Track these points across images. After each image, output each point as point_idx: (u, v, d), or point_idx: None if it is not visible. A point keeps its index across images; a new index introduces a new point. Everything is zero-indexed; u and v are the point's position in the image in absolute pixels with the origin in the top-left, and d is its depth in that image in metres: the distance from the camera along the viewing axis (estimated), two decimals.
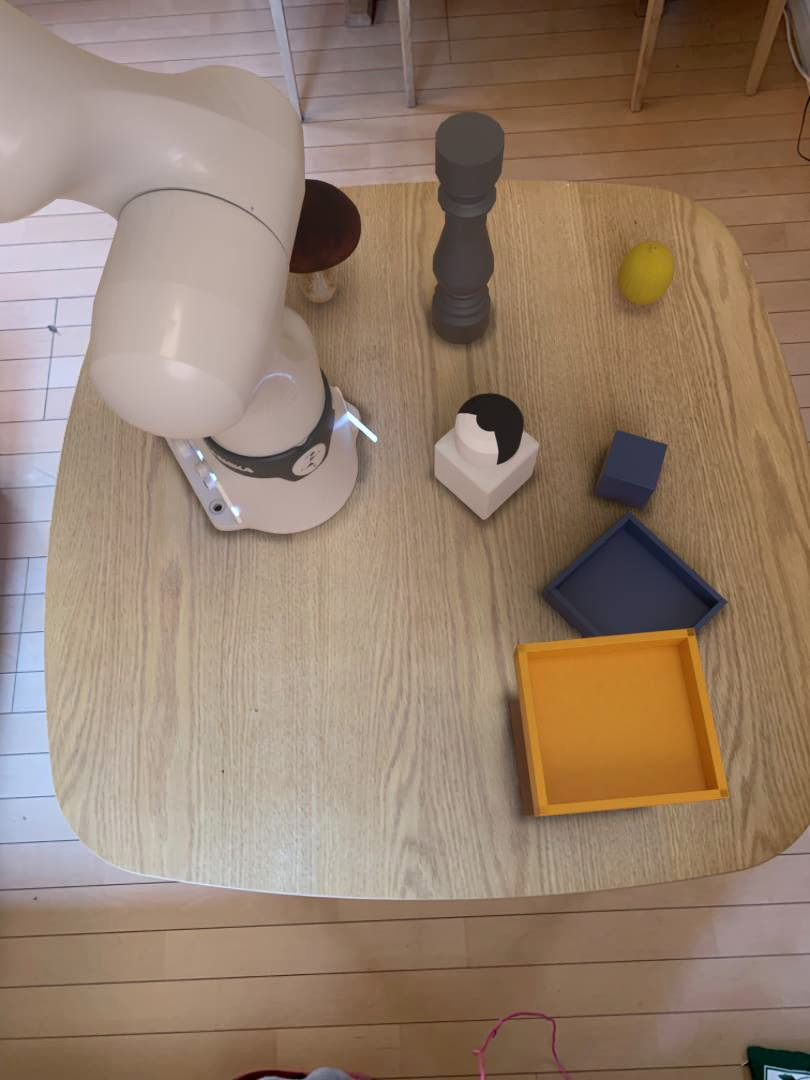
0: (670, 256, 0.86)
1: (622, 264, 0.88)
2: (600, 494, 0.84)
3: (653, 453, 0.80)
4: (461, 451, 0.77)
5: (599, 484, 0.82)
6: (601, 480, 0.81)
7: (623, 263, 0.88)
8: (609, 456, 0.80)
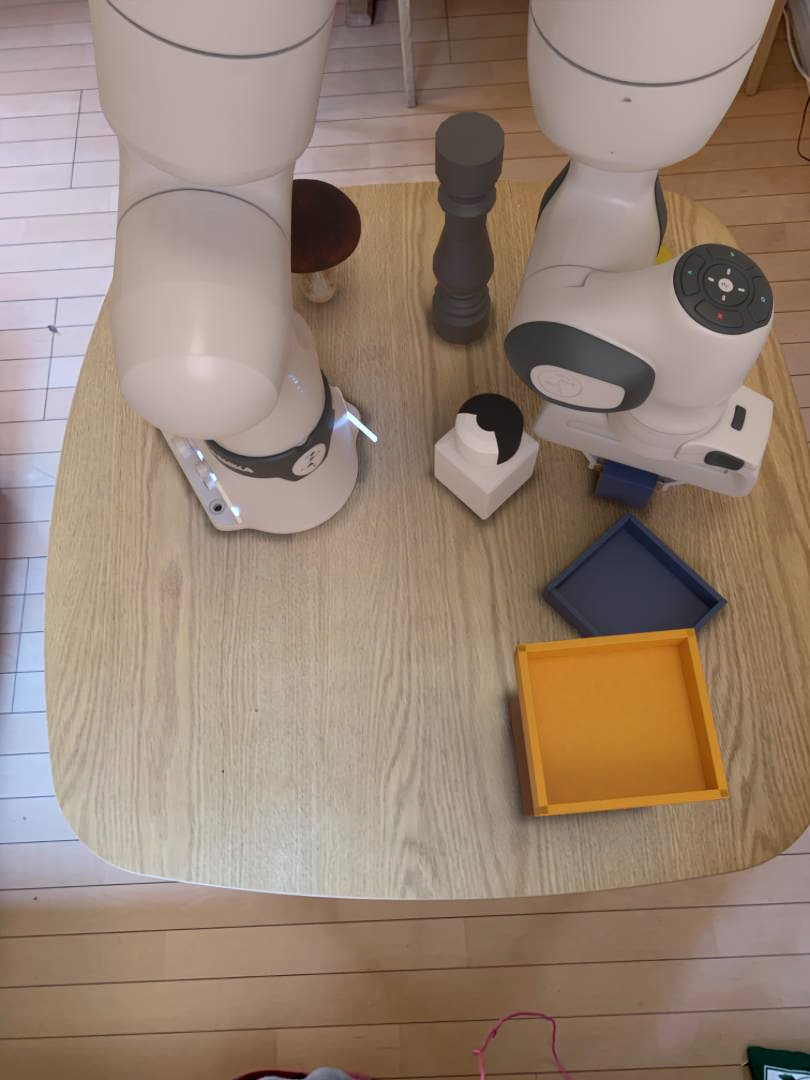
0: (670, 256, 0.86)
1: None
2: (600, 494, 0.84)
3: None
4: (461, 451, 0.77)
5: (599, 484, 0.82)
6: (601, 480, 0.81)
7: None
8: None
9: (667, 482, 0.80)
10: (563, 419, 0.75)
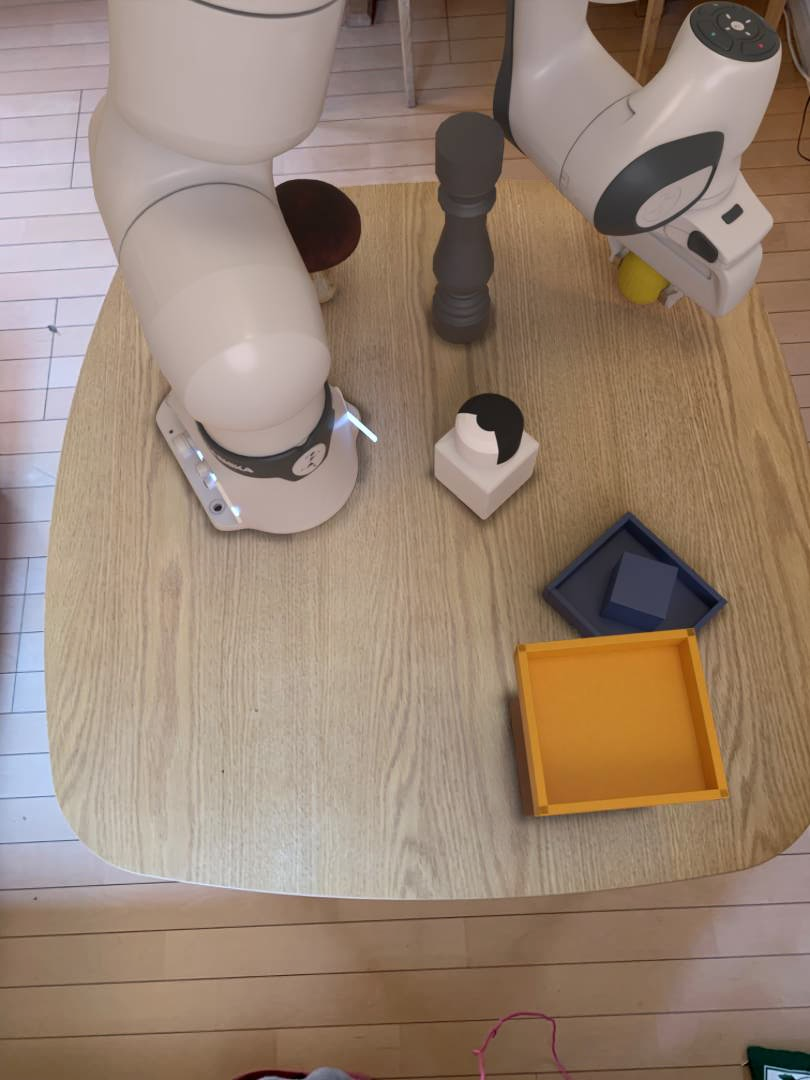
0: None
1: (622, 264, 0.88)
2: (606, 616, 0.79)
3: (662, 578, 0.76)
4: (461, 451, 0.77)
5: (606, 608, 0.77)
6: (608, 605, 0.76)
7: (623, 263, 0.88)
8: (616, 581, 0.76)
9: (670, 294, 0.86)
10: None
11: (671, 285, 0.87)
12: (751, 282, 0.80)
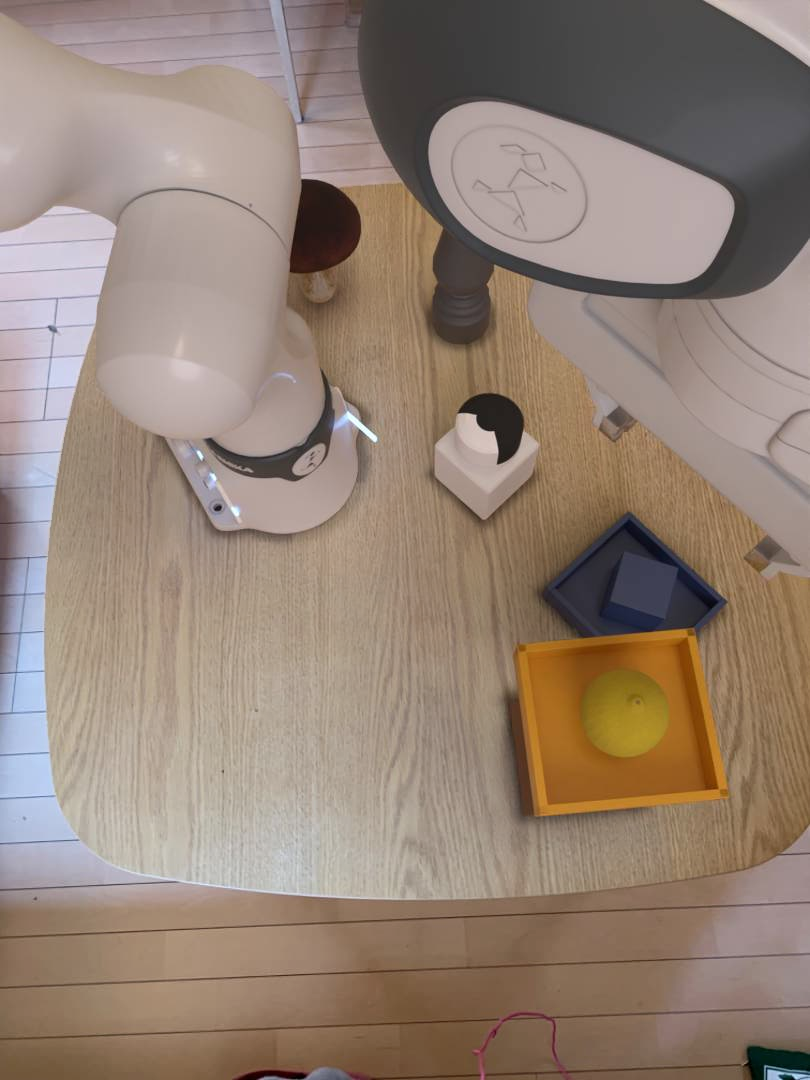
0: (663, 707, 0.52)
1: (585, 704, 0.54)
2: (606, 616, 0.79)
3: (662, 578, 0.76)
4: (461, 451, 0.77)
5: (606, 608, 0.77)
6: (608, 605, 0.76)
7: (587, 704, 0.54)
8: (616, 581, 0.76)
9: (777, 561, 0.36)
10: None
11: None
12: None
